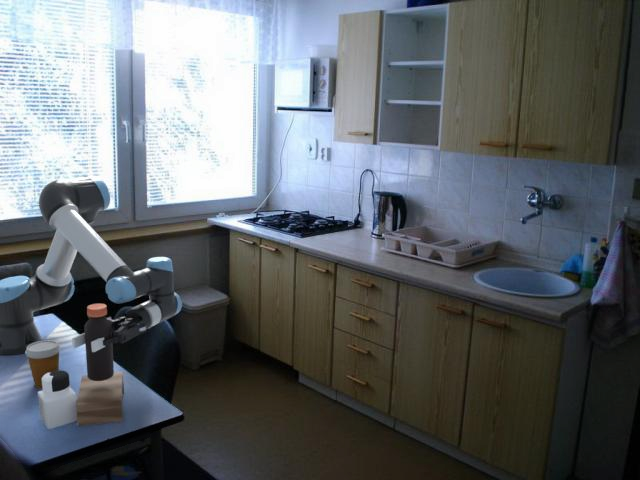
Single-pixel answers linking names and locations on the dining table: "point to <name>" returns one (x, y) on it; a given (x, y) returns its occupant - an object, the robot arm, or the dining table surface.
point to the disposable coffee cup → (43, 359)
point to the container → (57, 400)
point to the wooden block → (100, 400)
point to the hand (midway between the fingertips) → (83, 345)
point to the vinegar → (98, 328)
